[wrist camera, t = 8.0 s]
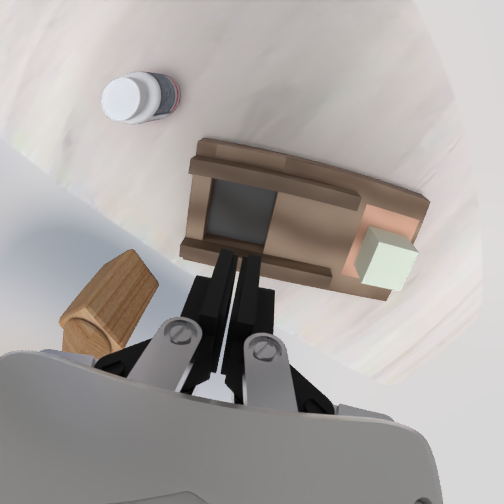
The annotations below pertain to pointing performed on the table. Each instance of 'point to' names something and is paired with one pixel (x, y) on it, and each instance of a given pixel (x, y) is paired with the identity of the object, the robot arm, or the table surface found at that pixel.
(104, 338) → the decorative item
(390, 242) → the sage block
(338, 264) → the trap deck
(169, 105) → the pill bottle
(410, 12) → the table surface
